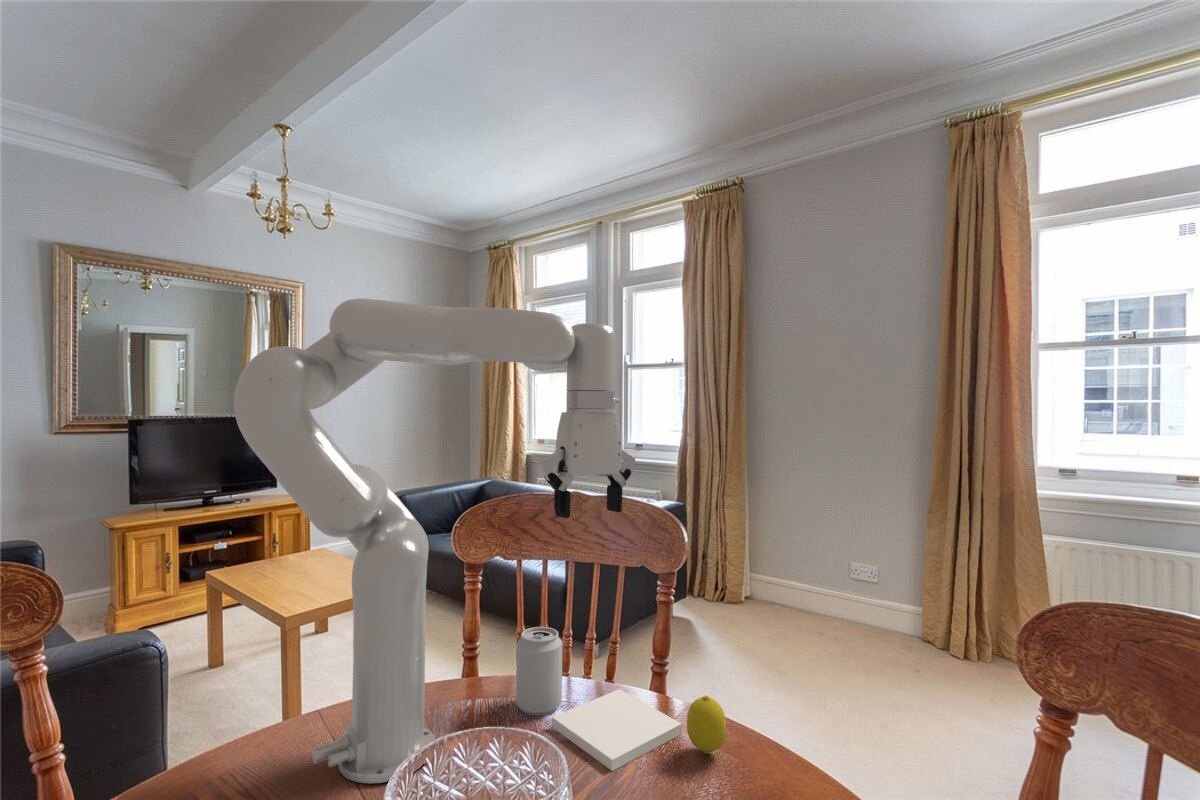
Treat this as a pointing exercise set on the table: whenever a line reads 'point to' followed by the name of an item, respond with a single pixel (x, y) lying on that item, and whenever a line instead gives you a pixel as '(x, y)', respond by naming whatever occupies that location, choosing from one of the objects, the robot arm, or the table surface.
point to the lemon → (706, 724)
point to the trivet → (616, 728)
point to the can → (539, 671)
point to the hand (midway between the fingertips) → (589, 513)
